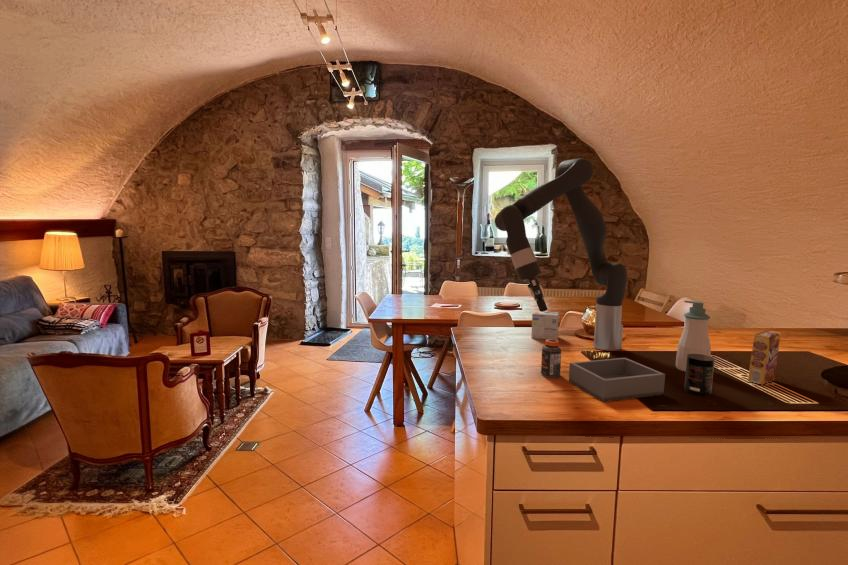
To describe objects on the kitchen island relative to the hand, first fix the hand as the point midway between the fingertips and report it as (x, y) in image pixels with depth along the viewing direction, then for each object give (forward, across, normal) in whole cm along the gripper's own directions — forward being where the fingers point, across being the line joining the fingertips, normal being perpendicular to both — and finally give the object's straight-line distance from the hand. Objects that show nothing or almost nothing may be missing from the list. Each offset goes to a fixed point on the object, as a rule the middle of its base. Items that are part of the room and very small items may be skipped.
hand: (543, 310), depth 144 cm
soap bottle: (+35, +14, -38) cm, 54 cm away
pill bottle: (+20, -1, +5) cm, 21 cm away
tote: (+28, -9, -10) cm, 31 cm away
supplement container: (+36, -6, -32) cm, 48 cm away
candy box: (+43, +8, -54) cm, 69 cm away
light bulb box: (+12, +46, +2) cm, 48 cm away
